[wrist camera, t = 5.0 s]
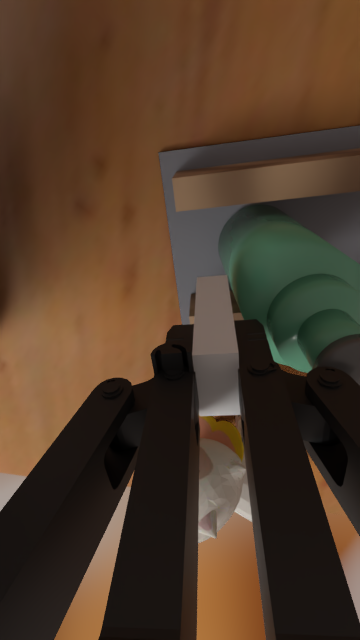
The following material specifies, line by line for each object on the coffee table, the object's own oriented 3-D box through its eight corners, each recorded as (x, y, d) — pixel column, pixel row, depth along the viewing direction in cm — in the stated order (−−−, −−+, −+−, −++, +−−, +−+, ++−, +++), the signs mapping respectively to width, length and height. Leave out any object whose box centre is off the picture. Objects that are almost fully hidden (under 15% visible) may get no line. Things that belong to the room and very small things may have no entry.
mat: (182, 325, 28) (182, 327, 27) (159, 152, 21) (158, 152, 21) (469, 304, 25) (473, 306, 25) (540, 101, 19) (546, 100, 18)
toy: (206, 347, 29) (208, 529, 16) (343, 450, 34) (430, 649, 21) (144, 403, 32) (105, 587, 19) (277, 488, 38) (316, 676, 25)
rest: (193, 314, 26) (191, 338, 23) (176, 171, 21) (172, 178, 18) (463, 293, 24) (501, 317, 21) (518, 127, 19) (580, 127, 16)
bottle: (220, 284, 25) (272, 444, 12) (215, 209, 22) (275, 312, 9) (293, 275, 24) (426, 428, 12) (297, 199, 22) (474, 289, 9)
